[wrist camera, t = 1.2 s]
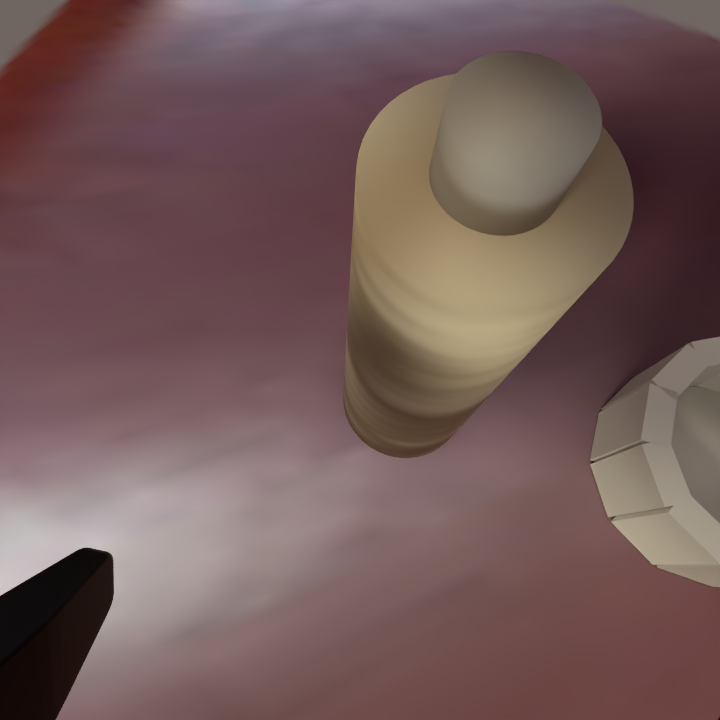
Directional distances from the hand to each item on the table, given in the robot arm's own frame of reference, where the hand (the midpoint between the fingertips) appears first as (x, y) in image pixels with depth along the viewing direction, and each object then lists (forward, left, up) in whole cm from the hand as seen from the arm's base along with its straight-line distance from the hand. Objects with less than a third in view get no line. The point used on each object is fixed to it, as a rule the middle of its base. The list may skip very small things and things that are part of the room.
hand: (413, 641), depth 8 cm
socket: (-5, -13, -13) cm, 20 cm away
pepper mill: (+5, -6, -13) cm, 15 cm away
